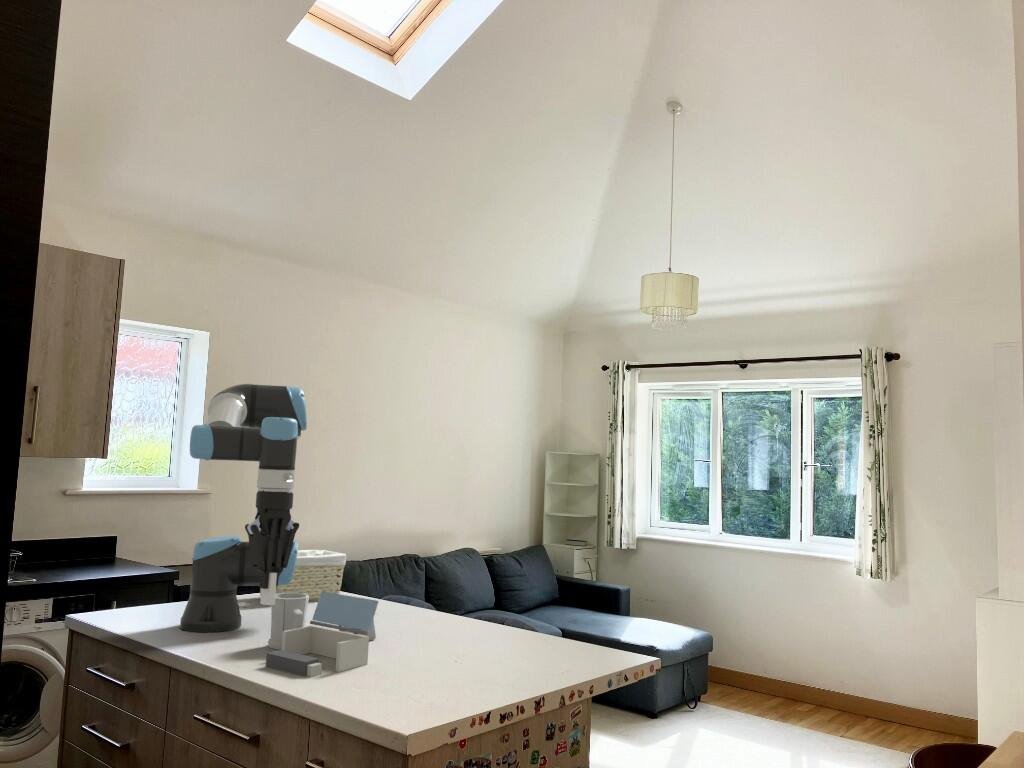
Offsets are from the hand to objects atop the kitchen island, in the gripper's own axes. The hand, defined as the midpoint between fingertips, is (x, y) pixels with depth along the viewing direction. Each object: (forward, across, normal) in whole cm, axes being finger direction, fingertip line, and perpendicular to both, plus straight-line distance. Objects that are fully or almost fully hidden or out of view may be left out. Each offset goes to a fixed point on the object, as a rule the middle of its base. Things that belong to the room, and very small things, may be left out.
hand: (267, 604), depth 167 cm
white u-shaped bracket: (+15, +18, 0) cm, 23 cm away
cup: (+15, +22, +16) cm, 31 cm away
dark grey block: (+15, +8, 0) cm, 17 cm away
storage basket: (+14, +70, +64) cm, 96 cm away
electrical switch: (+15, +37, +9) cm, 41 cm away
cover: (+5, +23, 0) cm, 23 cm away
